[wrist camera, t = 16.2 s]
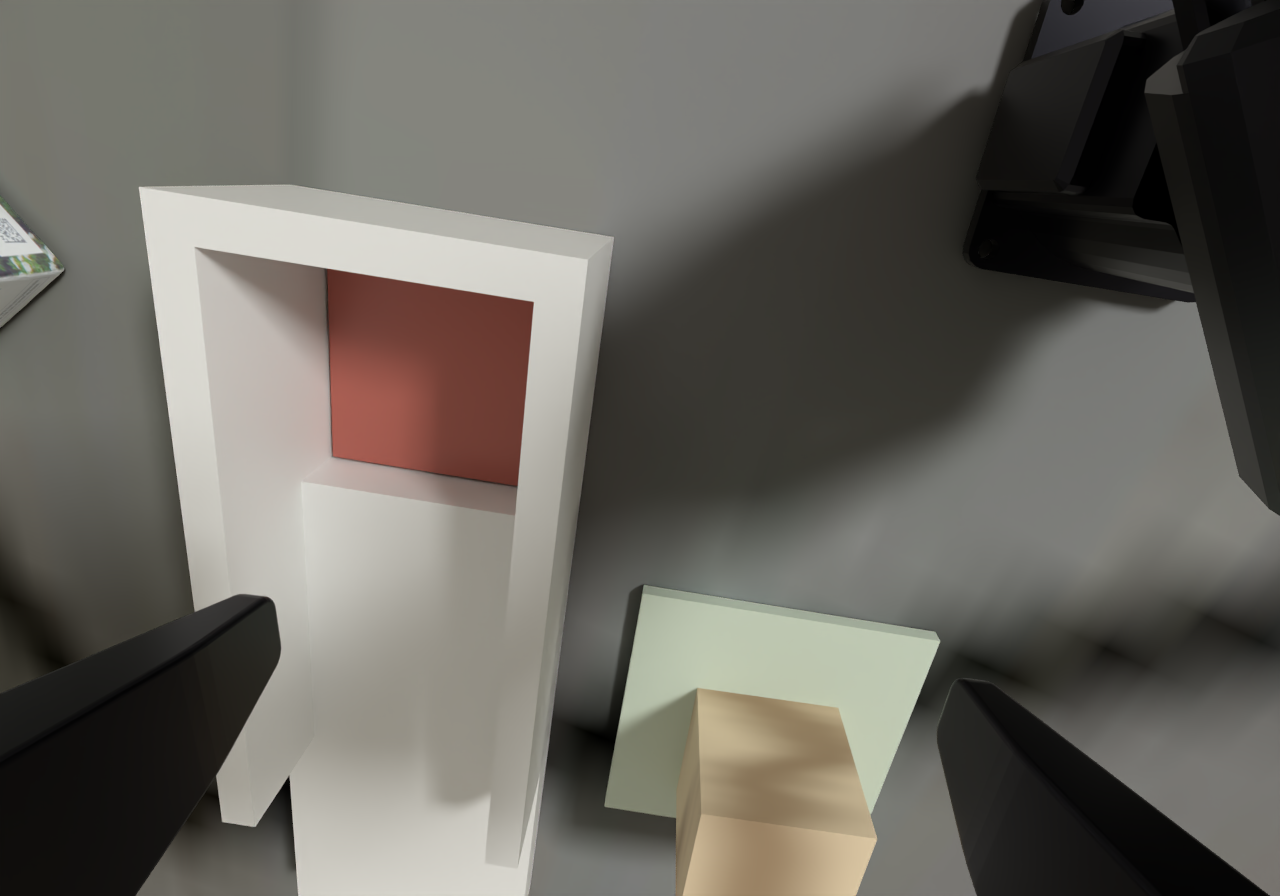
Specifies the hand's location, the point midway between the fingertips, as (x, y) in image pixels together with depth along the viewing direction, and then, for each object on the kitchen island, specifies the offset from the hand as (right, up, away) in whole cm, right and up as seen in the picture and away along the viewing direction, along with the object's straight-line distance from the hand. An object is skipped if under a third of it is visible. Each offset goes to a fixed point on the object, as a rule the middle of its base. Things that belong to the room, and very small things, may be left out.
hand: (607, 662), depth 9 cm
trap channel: (-7, -3, +15) cm, 16 cm away
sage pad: (+5, -7, +16) cm, 18 cm away
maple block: (+5, -8, +15) cm, 18 cm away
